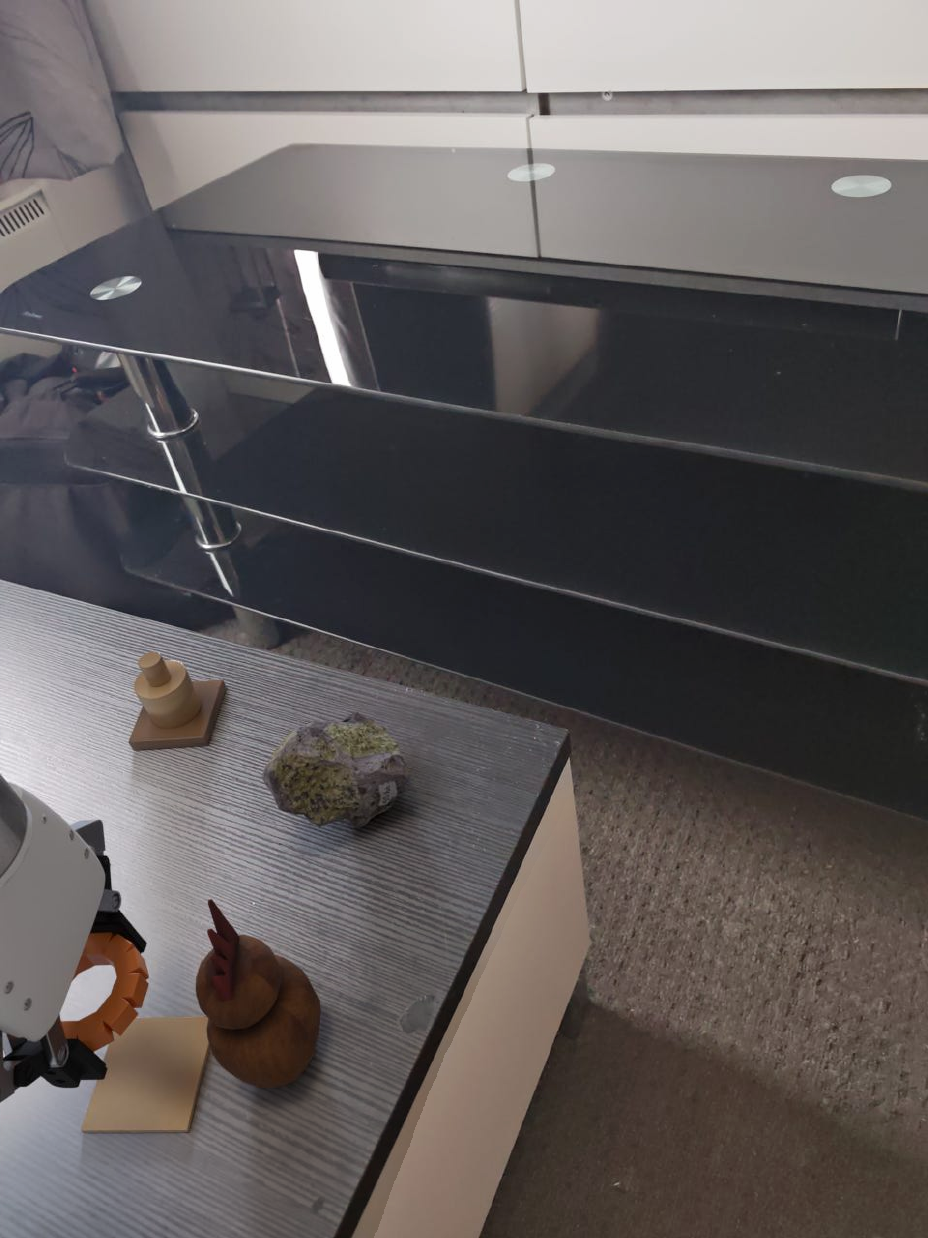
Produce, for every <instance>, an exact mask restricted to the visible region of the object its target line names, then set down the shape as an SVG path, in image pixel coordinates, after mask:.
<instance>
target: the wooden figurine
mask: <svg viewBox="0 0 928 1238" xmlns="http://www.w3.org/2000/svg"><path fill="white" fill-rule="evenodd" d="M207 906H208V909H209V912H210V916H211V919H212V922H213V925H214V928H215V930H214V929H213V928H207V929H206V933H207V936H208V937H207V938H208V939H209V941H210V944H211V946H212V949H211V950H209V951H208V952H207V954H206V955H205V957H203V959H202V960H201V962H200V965H199V968H198V971H197V975H196V977H195V995H196V996H195V997H196V998H197V1002H198V1006H199V1008H200V1010H201V1011H202V1013H203V1014H204V1015H205V1017H208V1023H207V1029H206V1030H207V1038H208V1042H209V1045H210V1049H209V1050H210V1052H211V1055H212V1056H213V1058H214V1060H215V1061H216V1063H218V1064H219V1066H221V1067H222V1068H223V1069H224V1070H226V1071H227V1072H228V1073H230V1075H232V1076H233V1077H234V1078H236V1079H238V1080H239V1081H241V1082H242V1083H245V1084H247V1085H250V1086H255V1087H258V1088H262V1089H270V1088H271V1089H274V1088H282V1087H285V1086H287V1085H288V1084H291V1083H292V1082H294V1081H296V1080H297V1079H298V1078H299V1077H300V1076H301V1075H302V1073H304V1071H305V1070H306V1069H307V1068H308V1066H309V1064H310V1062H311V1060H312V1058H313V1057H314V1055H315V1053H316V1052H315V1051H316V1048H317V1044H318V1042H319V1041H318V1040H319V1034H320V1024H321V1013H322V1012H321V1011H322V1008H321V1000H320V998H319V996H318V994H317V991H316V990H315V988H314V986H313V984H312V982H311V980H310V978H309V976H308V975H307V974H306V972H305V971H304V970H303V969H302V968H300V967H299V966H298V965H296V964H295V963H293V962H292V961H290V960H289V959H287V958H285V957H284V956H281V955H278V954H275V952H274V951H273V950H272V949H271V947H269V946H268V945H267V944H266V943H265V942H264V941H262V940H261V939H259V938H257V937H255V936H251V935H249V934H248V935H247V934H238V933H237V931H236V930H235V928H234V927H233V925H232V924H231V923H230V921H229V920H228V918H227V917H226V916H225V914H224V913H223V912H222V910H221V909H220V908H219V907H218V905H217V904H216V902H215V901H214V900H213V899H212V898H210V899H207Z"/></svg>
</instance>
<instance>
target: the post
mask: <svg viewBox="0 0 928 1238" xmlns="http://www.w3.org/2000/svg"><path fill="white" fill-rule="evenodd" d="M137 665H138V667H139V669H140V671H141V672H140V673H139V674H138V675H137V677H136V679H135V680H134V684H133V690H134V693H135V694H136V697H137V698H138V700H139V701H140V703H141V705H142V707H141V710H140V712H139V714H138V716H137V719H136V722H135V724H134V727H133V729H132V731H131V734H130V737H129V739H128V742H127V743H128V744H129V746H130V748H131V749H132V750H133V751H145V750H161V749H175V748H189V747H205V746H209V745H210V740H211V737H212V735H213V732H214V729H215V725H216V722H217V718H218V716H219V713H220V711H221V710H220V709H221V706H222V703H223V700H224V697H225V694H226V691H227V688H228V687H227V684H226V683H225V680H224V678H216V679H215V678H214V679H202V680H192V678H191V676H190V674H189V672H188V670H187V668H186V666H185V665H184V664H183V663H182V662H180V661H178V660H174V659H165V660H164V658H163V655H162V654H161V652H159V651H156V650H155V651H154V650H153V651H148V652H146V653H144V654H142V655H141V656H140V658H138V660H137Z"/></svg>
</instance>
